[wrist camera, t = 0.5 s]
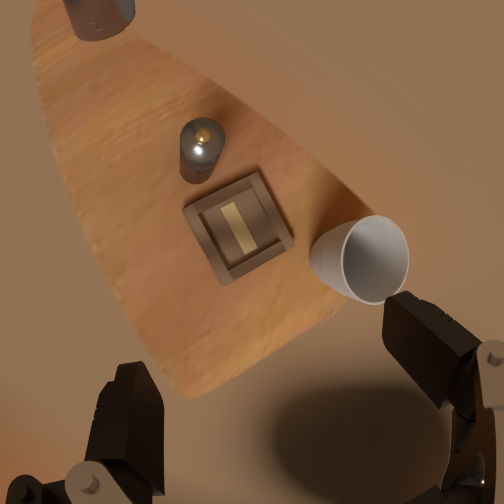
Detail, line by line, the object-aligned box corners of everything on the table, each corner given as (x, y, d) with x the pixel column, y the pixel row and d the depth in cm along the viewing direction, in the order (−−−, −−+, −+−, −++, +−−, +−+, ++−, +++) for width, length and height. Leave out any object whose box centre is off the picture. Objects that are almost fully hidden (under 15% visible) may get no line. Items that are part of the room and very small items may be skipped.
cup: (352, 292, 36) (404, 305, 26) (293, 289, 34) (336, 304, 24) (358, 228, 36) (411, 222, 26) (300, 218, 34) (345, 208, 24)
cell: (174, 161, 30) (172, 125, 21) (203, 147, 31) (213, 108, 21) (188, 189, 31) (192, 164, 21) (218, 175, 32) (234, 144, 22)
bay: (182, 211, 31) (182, 209, 30) (254, 174, 33) (257, 171, 31) (221, 285, 32) (223, 286, 31) (291, 245, 34) (295, 245, 32)
